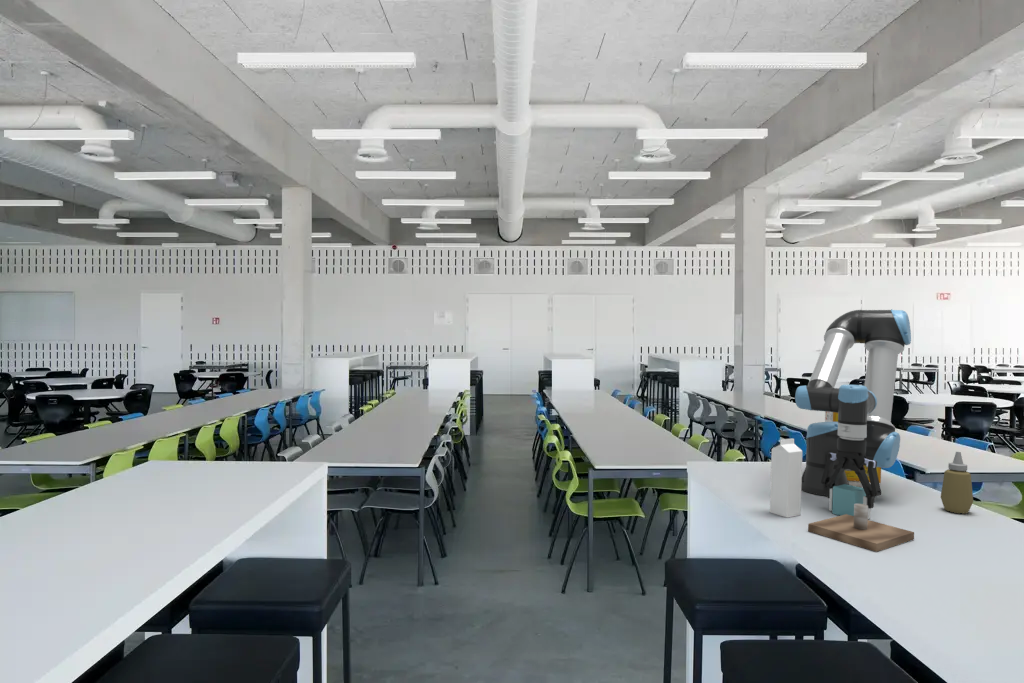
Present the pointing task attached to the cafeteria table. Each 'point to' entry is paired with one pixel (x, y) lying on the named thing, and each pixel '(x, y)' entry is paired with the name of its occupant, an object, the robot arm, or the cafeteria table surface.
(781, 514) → the milk
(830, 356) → the robot arm
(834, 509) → the teal block
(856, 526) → the walnut stand
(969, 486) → the squeeze bottle
